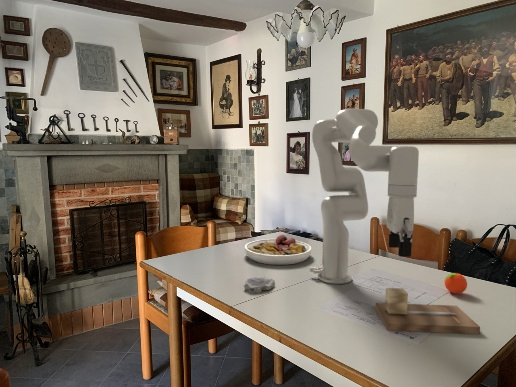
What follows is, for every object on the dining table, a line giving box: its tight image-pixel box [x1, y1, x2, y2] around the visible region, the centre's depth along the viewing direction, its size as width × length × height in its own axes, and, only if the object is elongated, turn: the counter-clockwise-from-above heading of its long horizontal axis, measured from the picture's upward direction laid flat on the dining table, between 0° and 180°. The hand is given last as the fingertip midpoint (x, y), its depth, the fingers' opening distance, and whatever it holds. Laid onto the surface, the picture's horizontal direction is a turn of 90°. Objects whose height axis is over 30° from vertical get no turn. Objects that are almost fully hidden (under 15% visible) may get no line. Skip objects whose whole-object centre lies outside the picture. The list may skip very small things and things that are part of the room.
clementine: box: [444, 272, 468, 295], centre depth 131 cm, size 8×7×7 cm
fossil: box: [243, 276, 276, 294], centre depth 135 cm, size 11×4×10 cm
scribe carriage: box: [384, 287, 409, 314], centre depth 110 cm, size 6×4×6 cm
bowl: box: [244, 234, 312, 266], centre depth 174 cm, size 30×30×8 cm
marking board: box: [375, 302, 481, 335], centre depth 109 cm, size 24×14×2 cm, turn 86°
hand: (399, 251), depth 108 cm, fingers open, 9 cm apart
